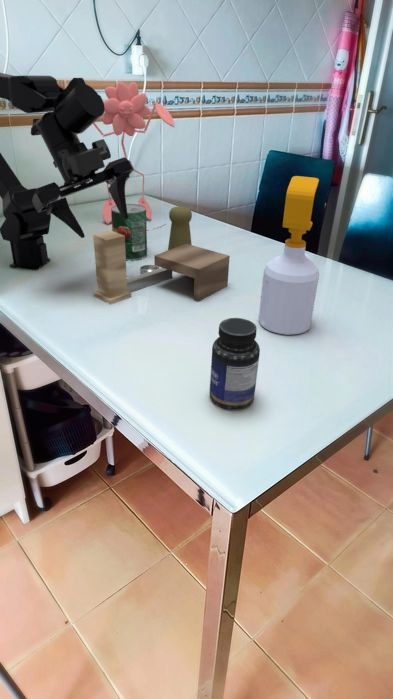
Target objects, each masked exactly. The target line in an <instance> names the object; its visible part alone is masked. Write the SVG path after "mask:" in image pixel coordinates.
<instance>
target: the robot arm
mask: <svg viewBox="0 0 393 699" xmlns="http://www.w3.org/2000/svg"><path fill="white" fill-rule="evenodd" d="M57 82H58V81H57V79H56V78H55V77H53V76H52V75H24V74H23V75H11V74H7V73H3V72H0V99H4V100H7V101H9V102H10V104H11V106H13V107H14V108H16V109H18V110H19V111H22V112H24V113H25V114H37V113H39V114H40V113H44V114H43V115H42V116H41V117H40V118H33V119H32V126H31V128H30V135H31V136H41V137H42V138H41V139H42V140H43V141H44V144H45V146H46V147H47V150H48V151H49V154H50V155H51V157H52V160H53V162H52V164H53V166H54V167H55V168H57V169H58V171H59V174H60V175H61V177H62V180H63V181H64V183H63V185H60V186H59V185H58V184H57V183H56V182H51V183H48V184H46V185H43V186H40V187H35V188H29V189H28V188H26V187H25V186H23V184H22V183H21V181H20V179H19V178H18V177H17V176H16V174H15V172H14V171H13V170H12V167H11V166H10V165H9V163H8V162H7V160H6V159H5V157H4V156H3V155H2V153H1V152H0V199H1V200H2V201H1V202H2V214H3V216H4V218H5V220H4V221H3V222H2V225H1V226H0V236H1V238H2V240H4V241H7V242H9V244H10V250H11V257H12V261H13V262H11V263H10V264H9V267H10V268H12V269H23V270H32V271H38V270H40V269H41V268H42V267H44V266H45V265H46V264H48V263H49V262H51V258H49V256H48V249H47V243H46V242H44V235H48V234H49V232H50V226H51V218H52V215H53V216H54V217H56V218H57V219H58V220H60V221H61V222H63V223H64V224H65V225H66V226H68V227H69V228H70V229H71V230H72V231H73V232H74V233H75V234H77V236H79V237H80V238H81V239H84V238H85V237H86V235H85V233H84V231H83V229H82V226H81V225H80V224H79V221H78V220H77V218H76V217H75V215H74V213H73V212H72V210H71V208H70V206H69V202H68V199H67V196H70V195H73V194H76V193H79V192H81V191H84V190H87V189H90V188H92V187H95V186H97V185H99V184H102V183H106V184H107V183H108V185H109V188H107V191H108V190H109V192H110V197H111V199H112V200H113V201H114V202H115V204H116V206H117V208H118V210H119V212H120V214H121V215H122V217H123V218H124V220H127V219H128V214H127V206H126V204H127V199H126V182H127V181H128V180H129V178H131V176H130V175H131V174H132V173H133V172H134V171H133V170H135V168H134V166H133V165H132V162H131V160H129V159H128V158H127V159H126V158H125V156H124V157H121V158H119V159H115V160H113V161H110V162H107V165H105V163H104V161H105V160H108V159H111V157H112V155H111V152H110V148H109V146H108V144H107V142H106V140H105V139H104V138H103V139H99V140H95V141H92V143H91V147H92V148H88V147H87V146H86V144H85V143H84V142H81V141H80V139H79V136H78V135H79V134H82V133H84V132H86V130H88V128H90V127H91V126H92V125H94V124H93V123H94V122H95V123H96V121H98V119H100V118H101V117H103V116H104V114H105V107H104V100H103V98H102V96H101V95H100V94H99V93H98V92H97V91H96V90H95V89H94V88H93V87H91V85H89V84H86V82H85V79H84V78H83V77H73V78H71V80H70V81H69V83H68V85H67V86H66V87H65V88H64V87H62V86H61V85H59V84H58V83H57ZM76 133H78V134H76ZM103 168H104V169H103ZM100 169H103V170H101V171H99V170H100ZM97 171H99V172H97Z"/></svg>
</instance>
